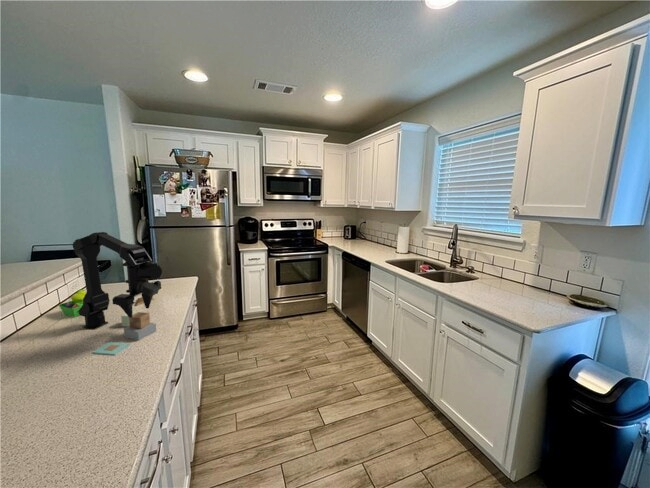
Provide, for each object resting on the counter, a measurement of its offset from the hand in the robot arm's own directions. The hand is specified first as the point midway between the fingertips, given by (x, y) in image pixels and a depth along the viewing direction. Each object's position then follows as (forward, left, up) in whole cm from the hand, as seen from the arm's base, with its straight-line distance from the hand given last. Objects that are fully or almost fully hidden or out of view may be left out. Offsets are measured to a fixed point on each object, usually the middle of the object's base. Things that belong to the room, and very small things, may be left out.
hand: (139, 312), depth 112 cm
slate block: (0, 0, -10) cm, 10 cm away
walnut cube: (0, 0, -6) cm, 6 cm away
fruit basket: (-45, +14, -10) cm, 48 cm away
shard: (-25, +34, -10) cm, 44 cm away
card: (-2, -12, -10) cm, 16 cm away
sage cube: (-11, +8, -10) cm, 17 cm away
